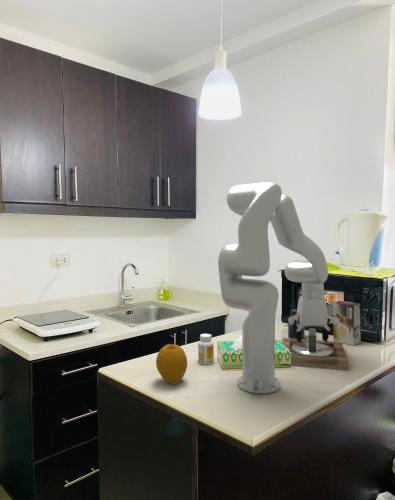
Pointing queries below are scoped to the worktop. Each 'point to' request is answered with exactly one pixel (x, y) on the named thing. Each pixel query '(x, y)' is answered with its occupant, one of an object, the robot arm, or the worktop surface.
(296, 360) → the dial housing
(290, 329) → the supplement bottle
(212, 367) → the worktop surface
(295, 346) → the dial
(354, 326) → the coffee box
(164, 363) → the apple
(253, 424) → the worktop surface
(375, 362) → the worktop surface
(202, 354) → the supplement bottle
